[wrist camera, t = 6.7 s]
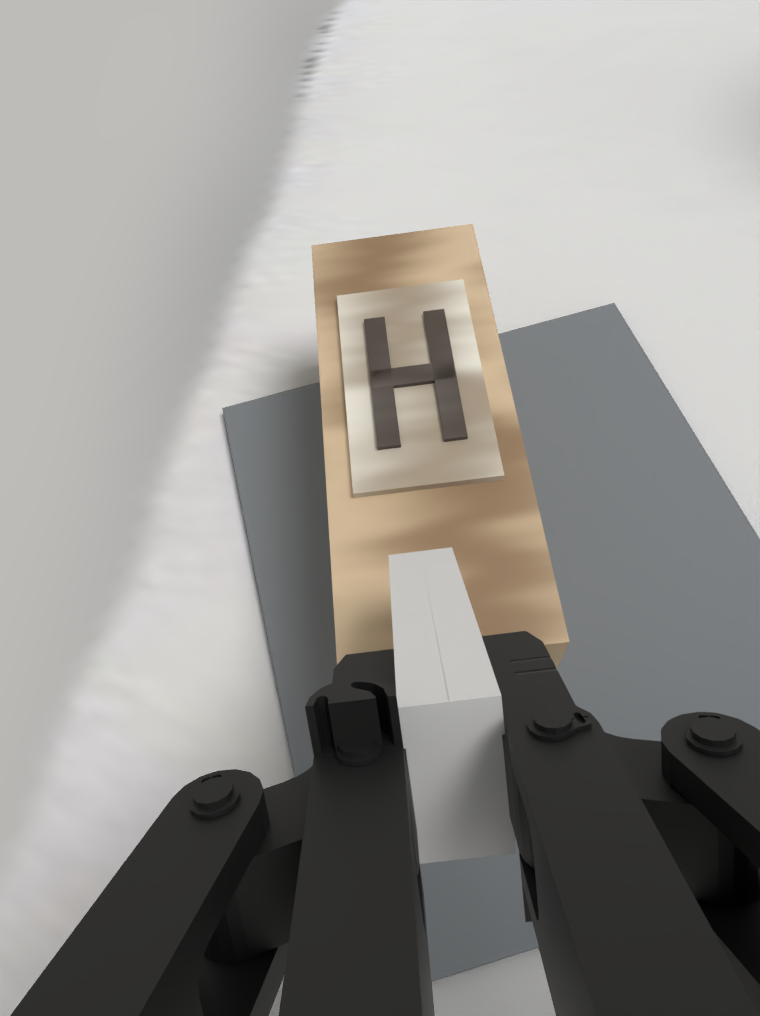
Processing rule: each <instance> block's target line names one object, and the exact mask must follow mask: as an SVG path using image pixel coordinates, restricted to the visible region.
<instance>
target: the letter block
mask: <svg viewBox="0 0 760 1016" xmlns="http://www.w3.org/2000/svg"><path fill="white" fill-rule="evenodd" d="M312 260H313V277H314V293H315V309H316V326H317V342H318V359H319V375H320V392H321V408H322V425H323V441H324V458H325V474H326V490H327V507H328V523H329V540H330V556H331V573H332V589H333V606H334V622H335V639H336V655H337V664H338V663H339V662H340V661H341V660H342V658H343V657H344V656H345V655H347V654H355V653H363V652H371V651H379V650H388V649H394V645H393V628H392V610H391V592H390V574H389V557H388V555H393V554H401V553H409V552H417V551H425V550H433V549H441V548H449V547H452V549H453V552H454V555H455V558H456V561H457V564H458V567H459V570H460V573H461V576H462V579H463V582H464V585H465V588H466V591H467V594H468V597H469V600H470V603H471V606H472V609H473V612H474V615H475V618H476V621H477V624H478V627H479V630H480V633H481V636H487V635H495V634H503V633H511V632H520V631H527V632H529V633H530V634H532V635H533V636H535V637H536V638H538V639H540V640H541V641H543V643H544V645H545V647H546V649H547V651H548V653H549V655H550V658H552V660H553V662H554V664H555V666H556V669H557V667H558V665H559V663H560V661H561V659H562V656H563V654H564V652H565V650H566V648H567V646H568V644H569V642H570V641H569V637H568V633H567V628H566V624H565V620H564V615H563V611H562V607H561V603H560V598H559V594H558V590H557V585H556V581H555V577H554V572H553V568H552V564H551V559H550V555H549V551H548V546H547V542H546V538H545V534H544V529H543V525H542V521H541V516H540V512H539V508H538V503H537V499H536V495H535V490H534V486H533V482H532V478H531V473H530V469H529V465H528V460H527V456H526V452H525V447H524V443H523V439H522V434H521V430H520V426H519V422H518V417H517V413H516V409H515V404H514V400H513V396H512V391H511V387H510V383H509V378H508V374H507V370H506V366H505V361H504V357H503V353H502V348H501V344H500V340H499V335H498V331H497V327H496V322H495V318H494V314H493V310H492V305H491V301H490V297H489V292H488V288H487V284H486V279H485V275H484V271H483V266H482V262H481V258H480V254H479V249H478V245H477V241H476V236H475V232H474V228H473V224H469V225H461V226H454V227H446V228H439V229H431V230H424V231H417V232H409V233H402V234H394V235H387V236H379V237H372V238H364V239H357V240H349V241H342V242H334V243H327V244H320V245H312Z"/></svg>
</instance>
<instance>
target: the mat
mask: <svg viewBox="0 0 760 1016" xmlns="http://www.w3.org/2000/svg"><path fill="white" fill-rule="evenodd" d="M498 335H499V340H500V344H501V348H502V353H503V357H504V361H505V366H506V370H507V374H508V378H509V383H510V387H511V391H512V396H513V400H514V404H515V409H516V413H517V417H518V422H519V426H520V430H521V434H522V439H523V443H524V447H525V452H526V456H527V460H528V465H529V469H530V473H531V478H532V482H533V486H534V490H535V495H536V499H537V503H538V508H539V512H540V516H541V521H542V525H543V529H544V534H545V538H546V542H547V546H548V551H549V555H550V559H551V564H552V568H553V572H554V577H555V581H556V585H557V590H558V594H559V598H560V603H561V607H562V611H563V615H564V620H565V624H566V628H567V633H568V637H569V641H570V642H569V644H568V646H567V648H566V650H565V652H564V654H563V656H562V659H561V661H560V663H559V665H558V667H557V669H556V670H558V672H559V674H560V676H561V678H562V680H563V682H564V684H565V686H566V688H567V689H568V691H569V693H570V695H571V697H572V699H573V701H574V703H575V705H576V706H578V707H580V708H582V709H584V710H586V711H588V712H590V713H591V714H592V715H593V716H594V717H595V718H596V719H597V720H598V721H599V723H600V725H601V727H602V728H603V730H604V732H605V733H609V734H612V735H615V736H619V737H625V738H631V739H641V740H653V741H661V729H662V727H663V726H664V725H665V723H666V722H667V721H668V720H670V719H672V718H674V717H676V716H679V715H681V714H687V713H694V712H713V713H720V714H723V715H727V716H731V717H734V718H738V719H740V720H742V721H744V722H746V723H748V724H750V725H752V726H754V727H755V728H757V729H758V730H760V539H759V537H758V536H757V534H756V532H755V531H754V529H753V528H752V526H751V524H750V523H749V521H748V520H747V518H746V516H745V515H744V513H743V511H742V510H741V508H740V507H739V505H738V503H737V502H736V500H735V498H734V497H733V495H732V494H731V492H730V490H729V489H728V487H727V485H726V484H725V482H724V481H723V479H722V477H721V476H720V474H719V472H718V471H717V469H716V468H715V466H714V464H713V463H712V461H711V459H710V458H709V456H708V455H707V453H706V451H705V450H704V448H703V446H702V445H701V443H700V442H699V440H698V438H697V437H696V435H695V433H694V432H693V430H692V429H691V427H690V425H689V424H688V422H687V420H686V419H685V417H684V416H683V414H682V412H681V411H680V409H679V407H678V406H677V404H676V403H675V401H674V399H673V398H672V396H671V395H670V393H669V391H668V390H667V388H666V386H665V385H664V383H663V382H662V380H661V378H660V377H659V375H658V373H657V372H656V370H655V369H654V367H653V365H652V364H651V362H650V360H649V359H648V357H647V356H646V354H645V352H644V351H643V349H642V347H641V346H640V344H639V343H638V341H637V339H636V338H635V336H634V334H633V333H632V331H631V330H630V328H629V326H628V325H627V323H626V321H625V320H624V318H623V317H622V315H621V313H620V312H619V310H618V308H617V307H616V305H615V304H614V303H612V304H609V305H605V306H601V307H597V308H594V309H590V310H586V311H582V312H579V313H575V314H571V315H568V316H564V317H560V318H556V319H553V320H549V321H545V322H542V323H538V324H534V325H530V326H527V327H523V328H519V329H515V330H512V331H508V332H504V333H501V334H498ZM222 409H223V414H224V419H225V424H226V429H227V434H228V439H229V444H230V449H231V454H232V460H233V465H234V470H235V475H236V480H237V485H238V490H239V495H240V500H241V505H242V510H243V516H244V521H245V526H246V531H247V536H248V541H249V546H250V551H251V556H252V561H253V567H254V572H255V577H256V582H257V587H258V592H259V597H260V602H261V607H262V612H263V617H264V623H265V628H266V633H267V638H268V643H269V648H270V653H271V658H272V663H273V668H274V673H275V679H276V684H277V689H278V694H279V699H280V704H281V709H282V714H283V719H284V724H285V730H286V735H287V740H288V745H289V750H290V755H291V760H292V765H293V770H294V775H295V777H297V776H299V775H300V774H302V773H303V772H305V771H307V770H308V769H309V768H310V767H311V766H313V758H314V754H313V749H312V743H311V738H310V732H309V727H308V721H307V715H306V710H305V705H306V704H307V702H308V700H309V698H310V696H312V695H313V694H314V693H315V692H317V691H318V690H319V689H320V688H322V687H324V686H327V685H329V684H331V683H332V679H333V671H334V668H335V667H336V666H337V655H336V639H335V622H334V606H333V589H332V573H331V556H330V540H329V523H328V507H327V490H326V474H325V458H324V441H323V425H322V408H321V392H320V382H318V383H315V384H311V385H307V386H303V387H300V388H296V389H292V390H288V391H285V392H281V393H277V394H274V395H270V396H266V397H262V398H259V399H255V400H251V401H248V402H244V403H240V404H236V405H233V406H229V407H225V408H222ZM514 836H515V834H514ZM515 846H516V853H513V854H504V855H495V856H487V857H478V858H469V859H460V860H451V861H442V862H433V863H425V864H420V870H421V877H422V884H423V891H424V902H425V914H426V925H427V936H428V948H429V959H430V970H431V981H435V980H438V979H441V978H444V977H447V976H450V975H453V974H456V973H460V972H463V971H466V970H469V969H472V968H475V967H478V966H482V965H485V964H488V963H491V962H494V961H497V960H500V959H503V958H507V957H510V956H513V955H516V954H519V953H522V952H525V951H528V950H532V949H535V948H538V947H539V946H538V942H537V938H536V934H535V930H534V926H533V923H532V922H525V912H524V901H523V890H522V879H521V868H520V857H519V849H518V845H517V841H516V838H515Z"/></svg>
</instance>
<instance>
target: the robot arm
mask: <svg viewBox="0 0 760 1016" xmlns="http://www.w3.org/2000/svg"><path fill="white" fill-rule="evenodd" d="M388 557H389V574H390V592H391V610H392V628H393V645H394V649H388V650H379V651H371V652H363V653H355V654H347V655H345V656H344V657H343V658H342V660H341V661H340V662H339V663H338V664H337V666H336V667H335V668H334V671H333V679H332V683H331V684H329V685H327V686H324V687H322V688H320V689H319V690H318V691H317V692H315V693H314V694H313V695H312V696H310V698H309V700H308V702H307V704H306V705H305V710H306V715H307V721H308V727H309V732H310V738H311V743H312V749H313V754H314V758H313V766H311V767H310V768H309V769H308V770H307V771H305V772H303V773H302V774H300V775H299V776H297V777H295V778H292V779H290V780H288V781H285V782H283V783H280V784H277V785H274V786H271V787H268V788H265V789H263V788H262V785H261V782H260V779H259V778H257V777H256V776H254V775H253V774H252V773H250V772H246V771H241V770H236V769H234V770H223V771H217V772H213V773H210V774H207V775H204V776H201V777H199V778H197V779H196V780H194V781H192V782H191V783H189V784H187V785H186V786H184V787H183V788H182V789H181V790H180V791H179V792H178V793H177V794H176V795H175V796H174V797H173V798H172V799H171V800H170V802H169V803H168V805H167V806H166V807H165V809H164V810H163V811H162V813H161V814H160V815H159V817H158V818H157V819H156V821H155V822H154V823H153V825H152V826H151V827H150V829H149V830H148V831H147V833H146V834H145V835H144V837H143V838H142V839H141V841H140V842H139V843H138V845H137V846H136V848H135V849H134V850H133V852H132V853H131V854H130V856H129V857H128V858H127V860H126V861H125V862H124V864H123V865H122V866H121V868H120V869H119V870H118V872H117V873H116V874H115V876H114V877H113V878H112V880H111V881H110V882H109V884H108V885H107V887H106V888H105V889H104V891H103V892H102V893H101V895H100V896H99V897H98V899H97V900H96V901H95V903H94V904H93V905H92V907H91V908H90V909H89V911H88V912H87V913H86V915H85V916H84V917H83V919H82V920H81V921H80V923H79V924H78V925H77V927H76V928H75V930H74V931H73V932H72V934H71V935H70V936H69V938H68V939H67V940H66V942H65V943H64V944H63V946H62V947H61V948H60V950H59V951H58V952H57V954H56V955H55V956H54V958H53V959H52V960H51V962H50V963H49V964H48V966H47V967H46V969H45V970H44V971H43V973H42V974H41V975H40V977H39V978H38V979H37V981H36V982H35V983H34V985H33V986H32V987H31V989H30V990H29V991H28V993H27V994H26V995H25V997H24V998H23V999H22V1001H21V1002H20V1003H19V1005H18V1006H17V1007H16V1009H15V1010H14V1012H13V1013H12V1014H11V1016H268V1015H269V1013H270V1010H271V1008H272V1005H273V1002H274V1000H275V997H276V995H277V992H278V990H279V987H280V984H281V982H282V979H283V977H284V982H283V989H282V996H281V1004H280V1011H279V1016H434V1005H433V993H432V982H431V970H430V959H429V948H428V936H427V925H426V914H425V902H424V891H423V884H422V877H421V870H420V864H425V863H433V862H442V861H451V860H460V859H469V858H478V857H487V856H495V855H504V854H513V853H516V846H515V838H516V841H517V845H518V849H519V857H520V868H521V879H522V890H523V901H524V912H525V922H532V923H533V926H534V930H535V934H536V938H537V942H538V946H539V950H540V954H541V958H542V962H543V965H544V969H545V973H546V977H547V981H548V985H549V989H550V993H551V997H552V1001H553V1005H554V1008H555V1012H556V1016H760V730H758V729H757V728H755V727H754V726H752V725H750V724H748V723H746V722H744V721H742V720H740V719H738V718H734V717H731V716H727V715H723V714H720V713H713V712H694V713H687V714H681V715H679V716H676V717H674V718H672V719H670V720H668V721H667V722H666V723H665V725H664V726H663V727H662V729H661V741H653V740H641V739H631V738H625V737H619V736H615V735H612V734H609V733H605V732H604V730H603V728H602V727H601V725H600V723H599V721H598V720H597V719H596V718H595V717H594V716H593V715H592V714H591V713H590V712H588V711H586V710H584V709H582V708H580V707H578V706H576V705H575V703H574V701H573V699H572V697H571V695H570V693H569V691H568V689H567V688H566V686H565V684H564V682H563V680H562V678H561V676H560V674H559V672H558V670H556V666H555V664H554V662H553V660H552V658H550V655H549V653H548V651H547V649H546V647H545V645H544V643H543V641H541V640H540V639H538V638H536V637H535V636H533V635H532V634H530V633H529V632H527V631H520V632H511V633H503V634H495V635H487V636H481V633H480V630H479V627H478V624H477V621H476V618H475V615H474V612H473V609H472V606H471V603H470V600H469V597H468V594H467V591H466V588H465V585H464V582H463V579H462V576H461V573H460V570H459V567H458V564H457V561H456V558H455V555H454V552H453V549H452V547H449V548H441V549H433V550H425V551H417V552H409V553H401V554H393V555H388ZM514 834H515V836H514Z"/></svg>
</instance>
